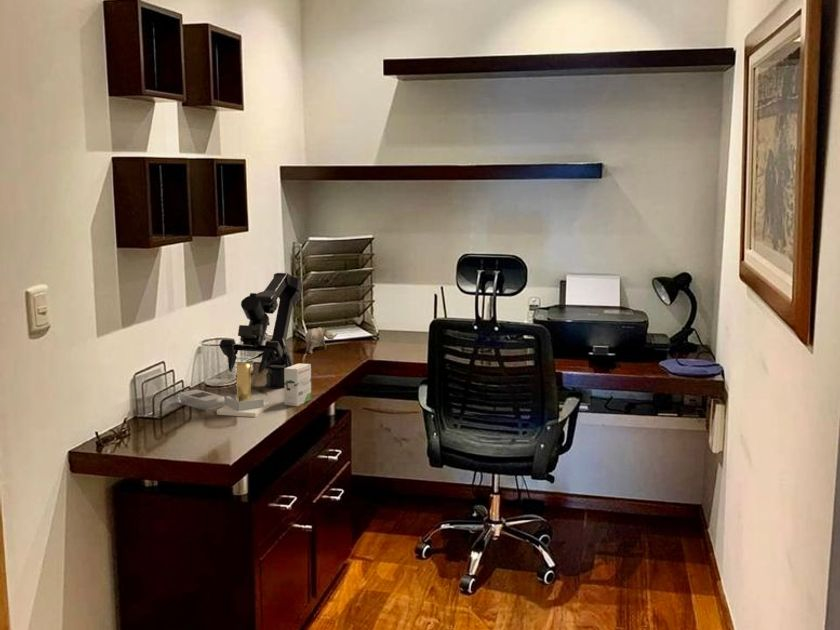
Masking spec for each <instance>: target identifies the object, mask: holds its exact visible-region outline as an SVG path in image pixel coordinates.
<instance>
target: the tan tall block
mask: <svg viewBox="0 0 840 630" xmlns="http://www.w3.org/2000/svg"><path fill="white" fill-rule="evenodd" d="M251 374H252V373H251V363H250V362H238V363H237V364H236V400H237V401H246V400H252V397H251V394H252V393H251V391H252V389H251V388H252V387H251V386H252V385H251V384H252V383H251V381H252V380H251Z"/></svg>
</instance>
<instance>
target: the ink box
mask: <svg viewBox="0 0 840 630" xmlns="http://www.w3.org/2000/svg"><path fill="white" fill-rule="evenodd" d="M283 388H284V405H286V406H293V407H298V406H301V405H303V404H305V403H307V402H310V401H311V400H312V364H311V363H296V364H292V366H290V367H287V368H284V387H283Z"/></svg>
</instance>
